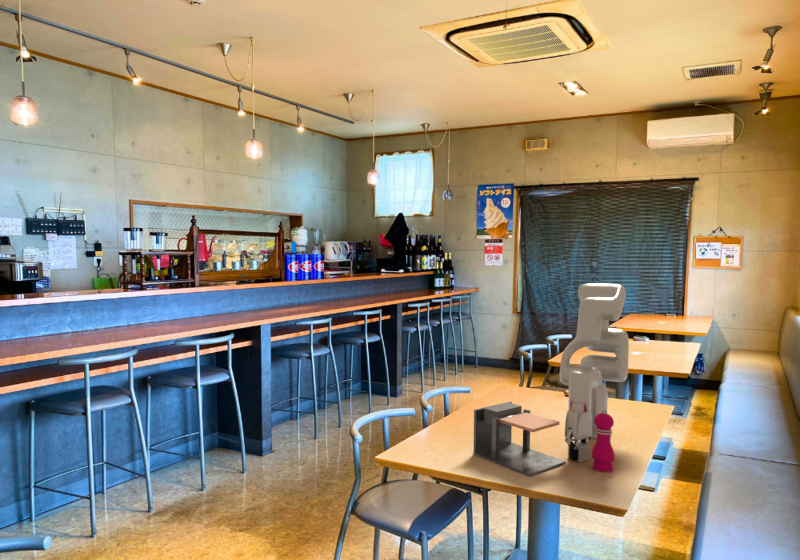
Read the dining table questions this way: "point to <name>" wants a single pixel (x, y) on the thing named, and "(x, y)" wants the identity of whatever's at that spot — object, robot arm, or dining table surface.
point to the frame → (508, 447)
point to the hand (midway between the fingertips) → (578, 457)
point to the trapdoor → (517, 417)
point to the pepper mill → (603, 443)
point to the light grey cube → (582, 452)
